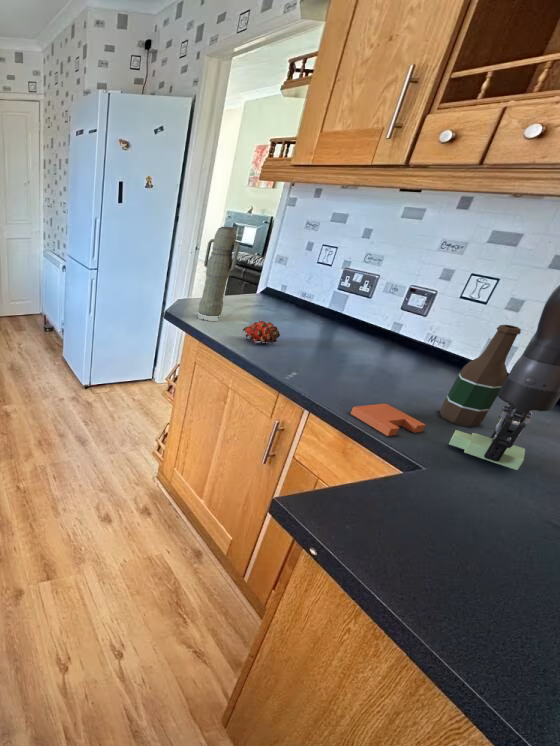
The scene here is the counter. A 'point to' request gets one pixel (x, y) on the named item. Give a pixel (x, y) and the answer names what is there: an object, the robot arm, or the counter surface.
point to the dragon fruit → (262, 332)
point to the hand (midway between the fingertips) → (492, 452)
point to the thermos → (218, 270)
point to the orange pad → (386, 419)
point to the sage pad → (480, 445)
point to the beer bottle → (480, 381)
